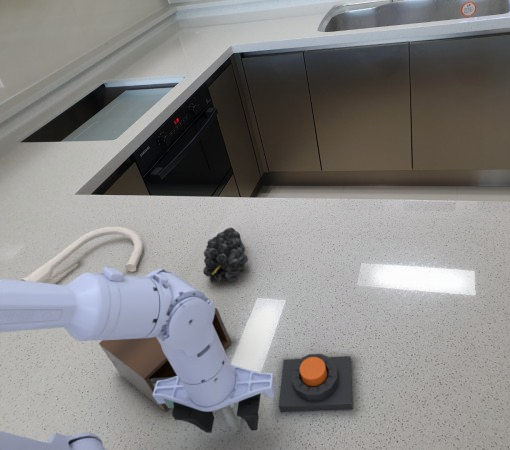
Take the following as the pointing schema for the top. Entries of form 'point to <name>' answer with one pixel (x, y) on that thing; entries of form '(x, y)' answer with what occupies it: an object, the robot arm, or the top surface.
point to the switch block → (317, 397)
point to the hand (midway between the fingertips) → (232, 424)
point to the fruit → (224, 256)
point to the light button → (313, 371)
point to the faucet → (46, 270)
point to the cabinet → (149, 358)
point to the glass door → (227, 411)
